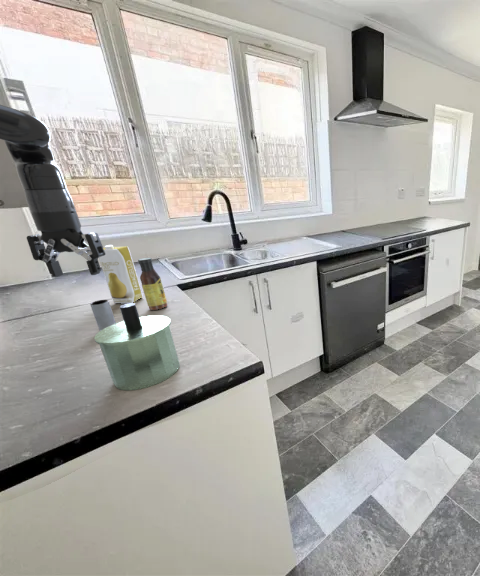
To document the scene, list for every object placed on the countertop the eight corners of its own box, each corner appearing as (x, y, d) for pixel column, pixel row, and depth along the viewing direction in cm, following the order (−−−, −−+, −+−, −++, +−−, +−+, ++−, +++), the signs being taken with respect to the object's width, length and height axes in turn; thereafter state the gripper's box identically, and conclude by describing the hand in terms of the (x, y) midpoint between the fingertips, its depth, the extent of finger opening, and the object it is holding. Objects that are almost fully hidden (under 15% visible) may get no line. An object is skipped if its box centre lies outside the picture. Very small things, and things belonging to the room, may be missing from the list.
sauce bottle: (169, 307, 122) (156, 258, 115) (150, 312, 118) (135, 261, 111) (166, 303, 126) (153, 256, 120) (147, 307, 122) (133, 259, 116)
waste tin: (112, 398, 71) (94, 350, 67) (117, 370, 81) (102, 327, 77) (181, 376, 78) (169, 332, 74) (177, 354, 89) (167, 314, 84)
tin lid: (91, 354, 66) (79, 324, 64) (100, 329, 77) (90, 303, 75) (173, 335, 74) (165, 307, 72) (170, 314, 85) (163, 290, 83)
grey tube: (99, 334, 101) (88, 305, 97) (101, 329, 104) (91, 301, 101) (116, 331, 103) (107, 302, 100) (118, 326, 107) (109, 298, 103)
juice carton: (110, 304, 126) (90, 246, 118) (124, 297, 133) (107, 243, 125) (133, 304, 126) (115, 246, 118) (146, 297, 133) (131, 242, 126)
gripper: (2, 211, 68) (31, 281, 74) (74, 209, 70) (97, 277, 75) (34, 209, 75) (58, 272, 81) (98, 207, 77) (118, 269, 82)
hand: (77, 275), depth 78 cm, fingers open, 8 cm apart
